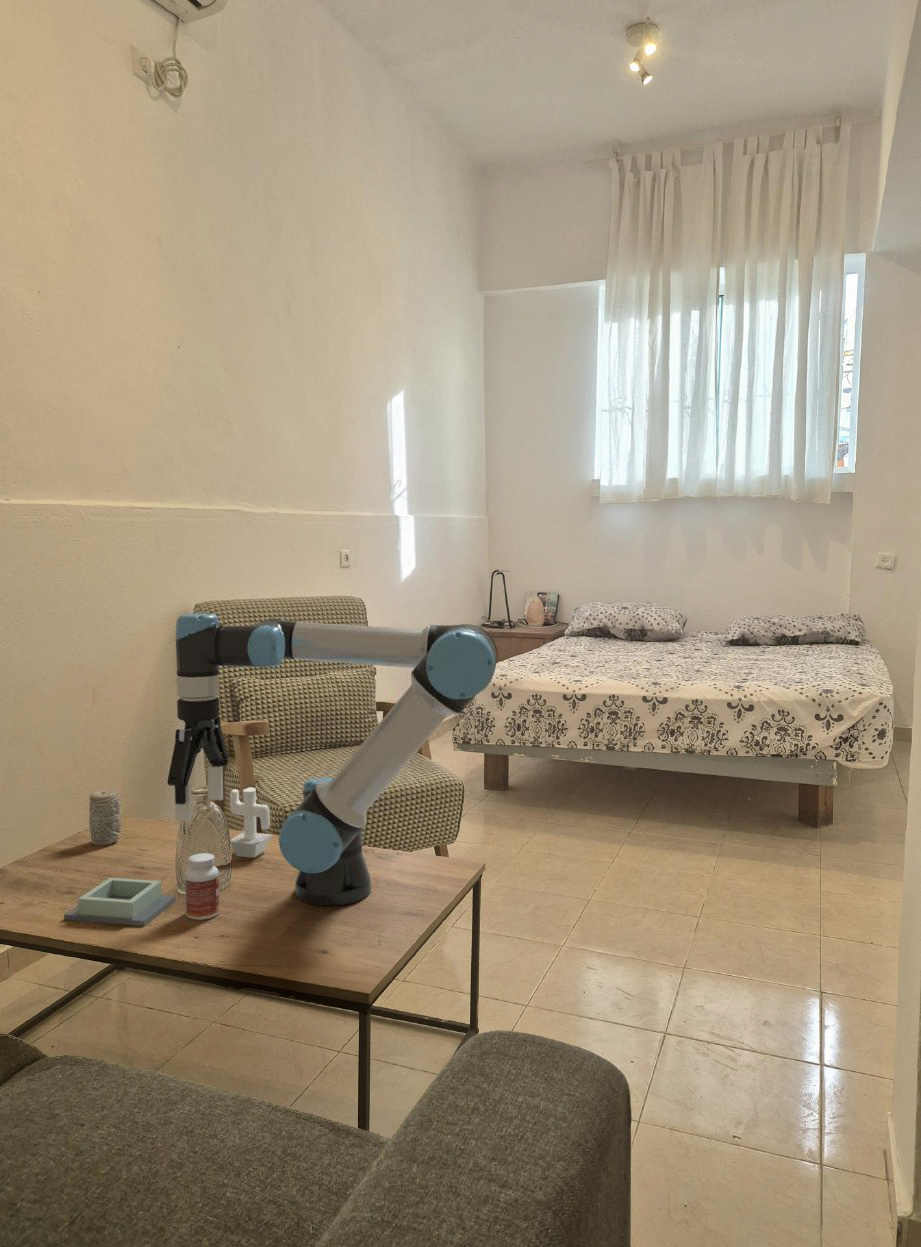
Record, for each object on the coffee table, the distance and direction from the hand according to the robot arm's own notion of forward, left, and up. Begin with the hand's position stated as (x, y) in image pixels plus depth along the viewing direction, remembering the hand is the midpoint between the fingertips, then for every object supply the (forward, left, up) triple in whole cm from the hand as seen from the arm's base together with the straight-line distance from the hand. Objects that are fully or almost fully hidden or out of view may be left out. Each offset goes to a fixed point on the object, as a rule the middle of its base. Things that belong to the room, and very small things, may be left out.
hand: (200, 809), depth 168 cm
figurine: (+4, -33, -20) cm, 39 cm away
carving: (+40, -34, -20) cm, 56 cm away
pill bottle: (0, 0, -20) cm, 20 cm away
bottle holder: (+16, +1, -20) cm, 26 cm away
